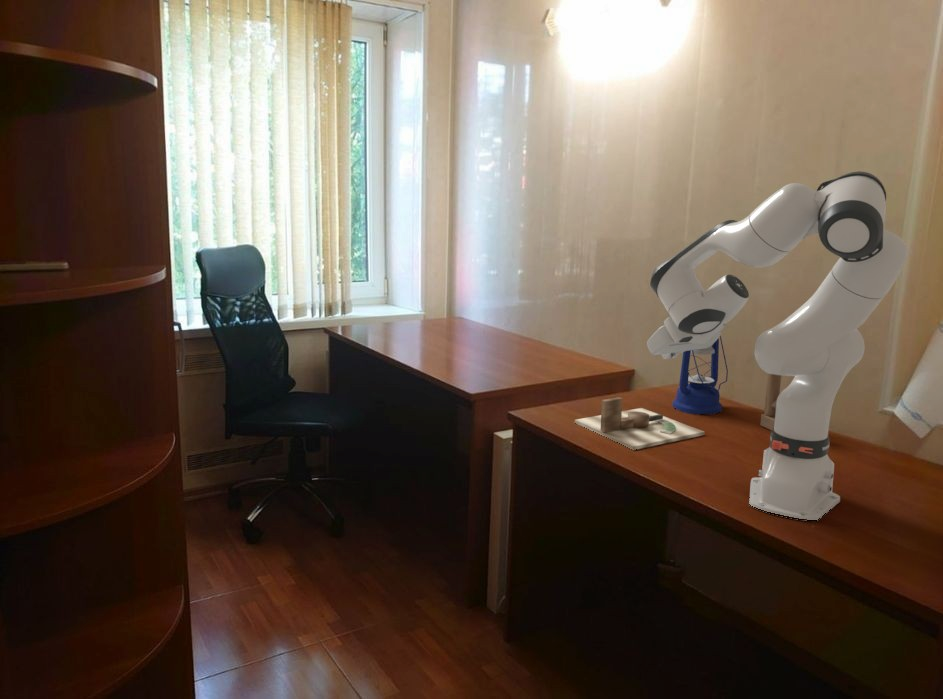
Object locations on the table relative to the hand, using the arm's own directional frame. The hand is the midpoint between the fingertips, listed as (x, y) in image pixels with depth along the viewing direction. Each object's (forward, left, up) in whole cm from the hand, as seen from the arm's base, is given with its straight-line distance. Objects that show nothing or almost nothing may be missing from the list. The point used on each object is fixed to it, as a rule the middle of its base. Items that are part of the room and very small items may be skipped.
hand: (667, 356), depth 184 cm
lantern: (+44, +3, -26) cm, 51 cm away
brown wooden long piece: (+11, +12, -24) cm, 29 cm away
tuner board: (+13, +11, -25) cm, 31 cm away
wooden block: (+34, -23, -26) cm, 48 cm away
